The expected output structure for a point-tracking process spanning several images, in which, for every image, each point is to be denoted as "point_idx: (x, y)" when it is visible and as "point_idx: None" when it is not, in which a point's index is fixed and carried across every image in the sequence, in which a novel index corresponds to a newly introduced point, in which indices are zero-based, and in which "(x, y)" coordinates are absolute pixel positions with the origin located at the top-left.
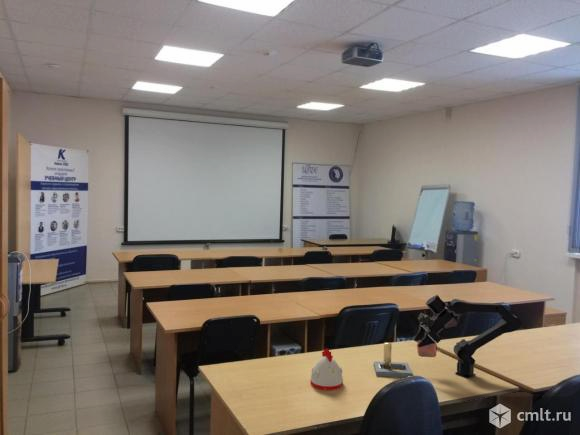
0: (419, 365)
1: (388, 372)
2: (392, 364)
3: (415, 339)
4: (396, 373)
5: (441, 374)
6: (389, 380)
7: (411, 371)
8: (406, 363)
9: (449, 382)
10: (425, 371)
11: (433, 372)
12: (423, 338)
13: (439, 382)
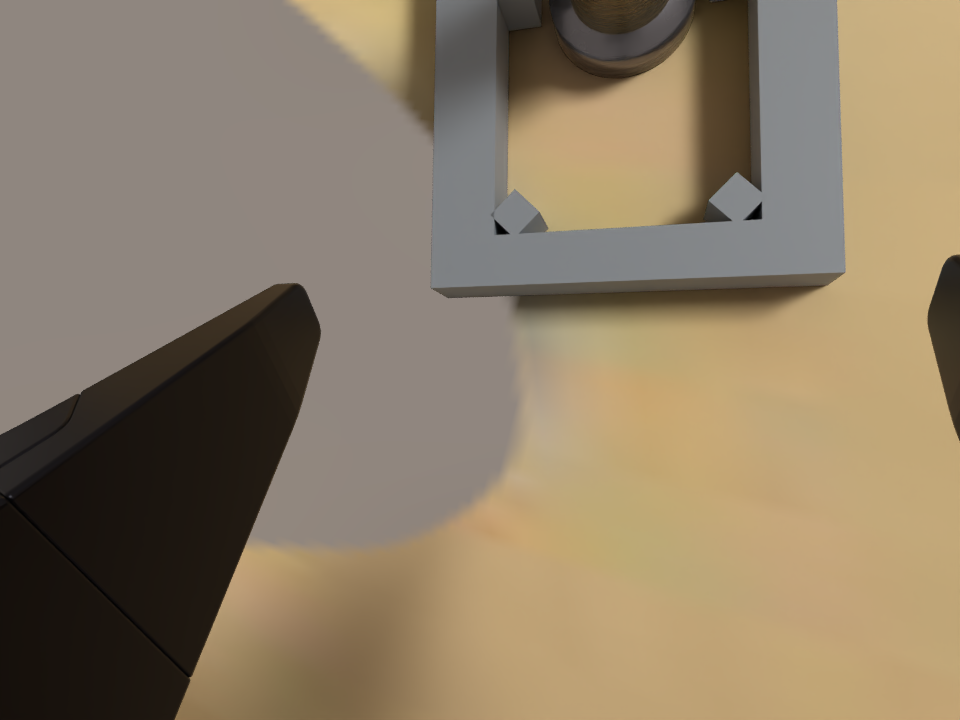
0: (940, 480)
1: (439, 1)
2: (757, 49)
3: (954, 314)
4: (439, 99)
5: (598, 702)
6: (347, 43)
7: (485, 282)
8: (813, 252)
9: (353, 705)
10: (683, 509)
11: (659, 613)
12: (40, 446)
13: (343, 583)
